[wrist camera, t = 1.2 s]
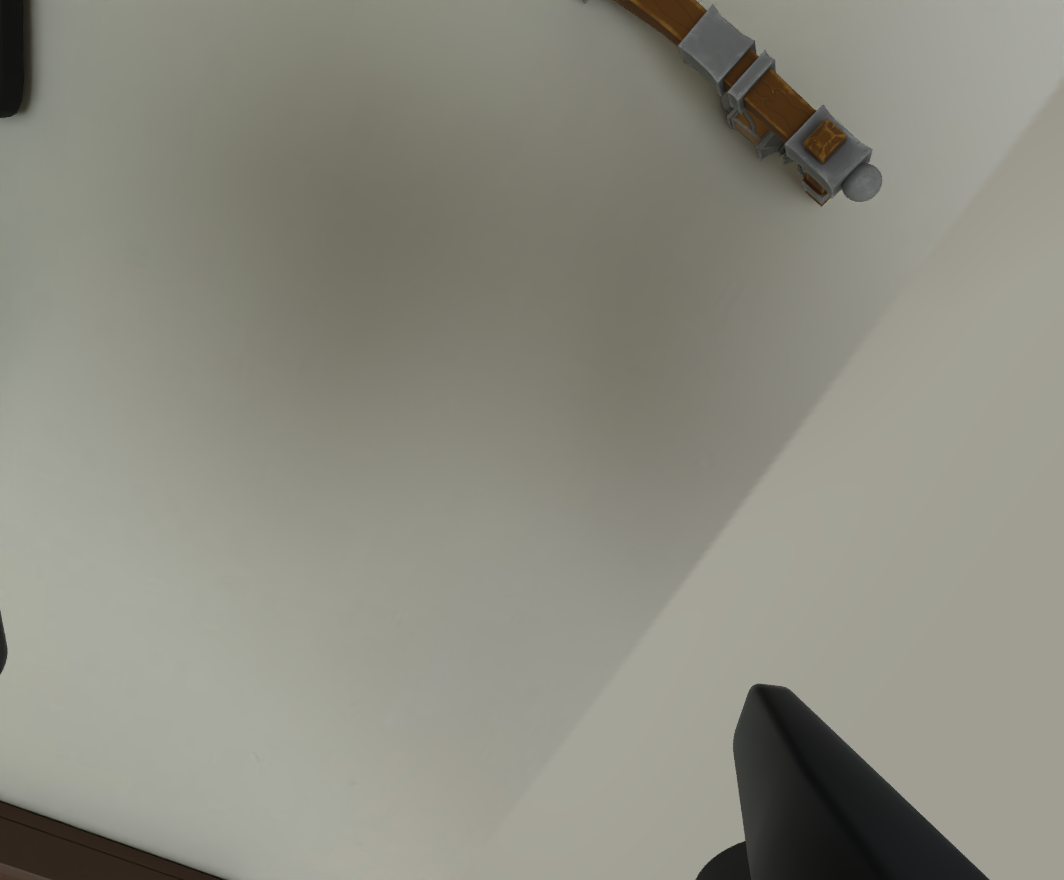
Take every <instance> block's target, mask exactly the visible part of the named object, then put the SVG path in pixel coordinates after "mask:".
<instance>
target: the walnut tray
mask: <svg viewBox="0 0 1064 880" xmlns="http://www.w3.org/2000/svg"><path fill="white" fill-rule="evenodd" d="M0 880H221V879H218V878H215V877H212V876H209V875H206V874H204V873H201V872H198V871H195V870H192V869H189V868H186V867H184V866H181V865H178V864H175V863H172V862H169V861H167V860H164V859H161V858H158V857H155V856H152V855H149V854H147V853H144V852H141V851H138V850H135V849H132V848H130V847H127V846H124V845H121V844H118V843H115V842H112V841H110V840H107V839H104V838H101V837H98V836H95V835H93V834H90V833H87V832H84V831H81V830H78V829H75V828H73V827H70V826H67V825H64V824H61V823H58V822H56V821H53V820H50V819H47V818H44V817H41V816H38V815H36V814H33V813H30V812H27V811H24V810H21V809H19V808H16V807H13V806H10V805H7V804H4V803H1V802H0Z"/></svg>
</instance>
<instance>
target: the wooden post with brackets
mask: <svg viewBox="0 0 1064 880" xmlns="http://www.w3.org/2000/svg"><path fill="white" fill-rule="evenodd" d="M583 1H584V2H585V3H586V2H587V1H588V0H583ZM614 1H616V2H617V3H619V4H620V5H622V6H623V7H625V8H626V9H627V10H629V11H630V12H632V13H633V14H635V15H636V16H638V17H639V18H641V19H642V20H643V21H645V22H646V23H648V24H649V25H651V26H652V27H654V28H655V29H657V30H658V31H659V32H661V33H662V34H664V35H665V36H666V37H667V38H668V39H669V40H671V41H672V42H673V43H674V44H675V45H676V46H678V47H679V50H680V53H681V56H682V58H683V61H684V62H685V63H686V64H688V65H690V66H692V67H693V68H695V69H696V70H697V71H698V72H699V73H700V74H701V75H702V76H703V77H704V78H705V79H706V80H708V81H709V82H710V83H711V84H712V85H713V86H714V88H715V89H716V90H717V92H718V93H719V94H720V96H721V104H722V107H723V108H724V109H725V110H726V111H727V112H730V114H729V115H728V116H727V120H728V123H729V127H730V128H731V129H732V128H734V129H736V130H739V131H740V132H741V133H743V134H744V135H745V136H746V137H748V138H749V139H750V140H751V141H753V142H754V143H755V144H756V145H758V146H757V154H758V158H759V159H760V160H762V159H763V158H764V157H766V156H768V155H770V154H772V153H774V152H778V151H779V156H781V155H783V154H784V153H785V155H784V157H783V164H786V163H789V162H792V161H795V162H797V163H798V171H799V173H800V174H801V175H802V176H803V177H804V178H803V179H802V187H803V188H804V189H805V190H806V193H807V194H808V195H809V196H810V197H812V198H813V199H814V200H815V201H816V202H817V203H818V204H819V205H820V206H821V207H822V206H823V205H824V204H825V203H826V202H827V201H828V200H829V199H830V198H833V197H834V196H835V195H836V194H837V193H838V192H839V191H840V190H841V189H842V190H843V193H844V194H845V195H846V197H847V198H849V199H850V200H853V201H857V202H863V201H867V200H869V199H871V198H873V197H874V196H875V195H876V194H877V193H878V191H879V190H880V187H881V184H882V176H881V173H880V171H879V170H878V169H877V168H876V167H875V166H873V165H871V164H868V163H869V162H870V158H871V153H872V149H871V148H869V147H868V146H866V145H864V144H862V143H861V142H860V141H859V140H857V139H856V138H855V137H854V136H853V135H852V134H851V133H850V132H849V131H848V130H846V129H845V128H844V127H843V126H842V125H841V124H840V123H839V122H838V121H837V120H835V119H834V118H833V117H832V116H831V115H830V113H829V112H828V110H827V109H826V108H825V106H824V105H822V106H821V107H820V108H819V109H818V110H817V111H815V110H814V109H813V108H812V107H811V106H810V105H809V104H808V103H807V102H806V101H805V100H804V99H803V98H802V97H801V96H800V95H798V94H797V93H796V92H795V91H794V90H793V89H792V88H791V87H790V86H789V85H788V84H787V83H786V82H785V81H784V80H783V79H782V78H781V77H780V76H779V75H778V74H776V70H775V59H773V58H771V57H769V55H768V54H767V53H766V50H764V52H763V53H762V54H761V55H760V56H757V55H756V47H755V41H754V40H752V39H751V38H749V37H747V36H745V35H743V34H742V33H740V32H739V31H738V30H737V29H736V28H735V27H734V26H732V25H731V24H730V23H729V22H728V21H727V20H726V19H724V18H723V17H722V16H721V14H720V13H719V12H718V10H717V9H716V8H715V6H714V5H712V6H711V7H710V8H709V9H708V11H707V10H706V9H705V8H704V7H702V6H701V5H700V4H699V3H698V2H697V1H696V0H614ZM802 168H803V169H804V170H805V171H806V173H805V172H804V171H803V170H802Z"/></svg>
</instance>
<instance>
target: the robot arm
mask: <svg viewBox="0 0 1064 880" xmlns="http://www.w3.org/2000/svg"><path fill="white" fill-rule="evenodd" d="M6 659H7V643H6V638H5V633H4V628H3V622H2V617H1V612H0V674H1V672H2V670H3V668H4V666H5V663H6ZM733 752H734V760H735V767H736V774H737V782H738V788H739V796H740V803H741V811H742V818H743V825H744V832H745V840H746V847H747V854H748V861H749V867H750V873H751V879H752V880H989V879H988V878H987V877H986V876H985V875H984V874H983V873H982V872H981V871H980V870H979V869H978V868H977V867H976V866H975V865H974V864H973V863H971V862H970V861H969V860H968V859H967V858H966V857H965V856H964V855H963V854H962V853H961V852H960V851H959V850H958V849H957V848H956V847H955V846H954V845H953V844H952V843H951V842H949V841H948V840H947V839H946V838H945V837H944V836H943V835H942V834H941V833H940V832H939V831H938V830H937V829H936V828H935V827H934V826H933V825H932V824H931V823H929V822H928V821H927V820H926V819H925V818H924V817H923V816H922V815H921V814H920V813H919V812H918V811H917V810H916V809H915V808H914V807H913V806H911V804H910V803H908V802H907V801H906V800H905V799H904V798H903V797H902V796H901V795H900V794H899V793H898V792H897V791H896V790H895V789H894V788H893V787H892V786H891V785H890V784H889V783H887V782H886V781H885V780H884V779H883V778H882V777H881V776H880V775H879V774H878V773H877V772H876V771H875V770H874V769H873V768H872V767H870V765H868V764H867V763H866V762H865V761H864V760H863V759H862V758H861V757H860V756H859V755H858V754H857V753H856V752H855V751H854V750H853V749H852V748H851V747H850V746H849V745H847V744H846V743H845V742H844V741H843V740H842V739H841V738H840V737H839V736H838V735H837V734H836V733H835V732H834V731H833V730H832V729H831V728H830V727H829V726H828V725H827V724H825V723H824V722H823V721H822V720H821V719H820V718H819V717H818V716H817V715H816V714H815V713H814V712H813V711H812V710H811V709H810V708H809V707H807V706H806V705H805V704H804V703H803V702H802V701H801V700H800V699H799V698H798V697H797V696H796V695H795V694H794V693H793V692H792V691H790V690H789V689H787V688H786V687H782V686H775V685H766V684H756V685H754V686H752V687H751V689H750V690H749V693H748V695H747V698H746V701H745V704H744V707H743V709H742V712H741V715H740V718H739V721H738V724H737V727H736V730H735V733H734V740H733Z"/></svg>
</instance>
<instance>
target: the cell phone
mask: <svg viewBox="0 0 1064 880" xmlns="http://www.w3.org/2000/svg"><path fill="white" fill-rule="evenodd" d="M23 82H24V72H23V10H22V0H0V118H5V117H11V116H12V115H14V114H15V113H17V112H18V110H19V108H20V105H21V101H22V93H23Z"/></svg>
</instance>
